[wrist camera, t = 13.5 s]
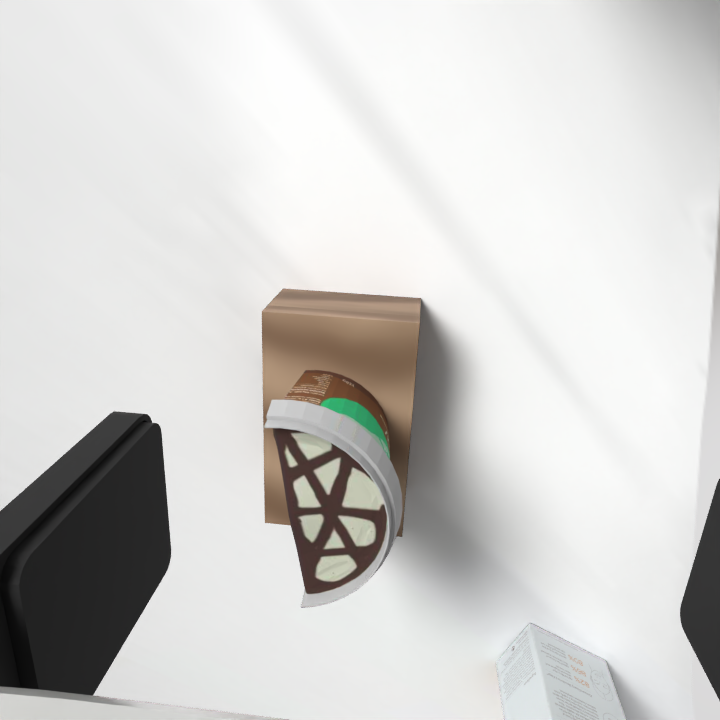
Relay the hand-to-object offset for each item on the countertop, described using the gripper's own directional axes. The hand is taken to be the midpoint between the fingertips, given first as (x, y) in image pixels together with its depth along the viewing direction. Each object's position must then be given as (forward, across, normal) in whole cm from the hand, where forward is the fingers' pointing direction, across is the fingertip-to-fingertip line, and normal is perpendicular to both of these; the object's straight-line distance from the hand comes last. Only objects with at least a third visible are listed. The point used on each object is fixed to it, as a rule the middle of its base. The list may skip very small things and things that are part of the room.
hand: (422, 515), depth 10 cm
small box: (+34, -14, +37) cm, 52 cm away
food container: (+28, +3, +13) cm, 31 cm away
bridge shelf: (+33, +5, +13) cm, 36 cm away
